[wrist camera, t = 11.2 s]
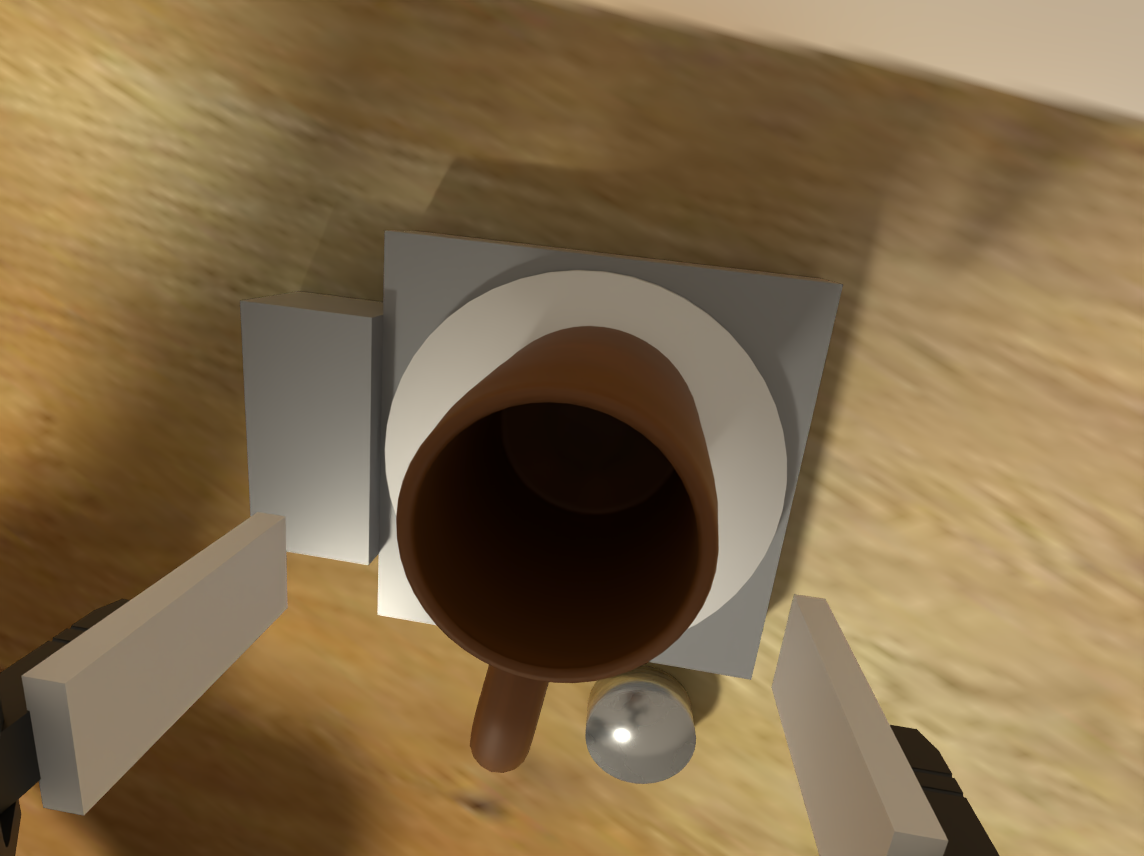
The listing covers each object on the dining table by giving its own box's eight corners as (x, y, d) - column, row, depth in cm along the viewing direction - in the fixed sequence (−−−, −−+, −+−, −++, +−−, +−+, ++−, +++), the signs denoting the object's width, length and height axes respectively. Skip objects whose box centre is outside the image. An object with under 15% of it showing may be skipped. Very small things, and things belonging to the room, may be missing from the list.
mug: (632, 641, 25) (618, 861, 17) (450, 587, 26) (341, 774, 17) (728, 354, 22) (777, 437, 13) (514, 295, 22) (416, 337, 13)
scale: (297, 561, 31) (247, 607, 27) (289, 215, 26) (226, 213, 22) (741, 636, 29) (754, 696, 25) (821, 278, 24) (851, 286, 20)
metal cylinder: (625, 767, 32) (625, 799, 30) (567, 694, 31) (564, 722, 29) (711, 723, 31) (716, 754, 29) (654, 646, 30) (656, 672, 28)
